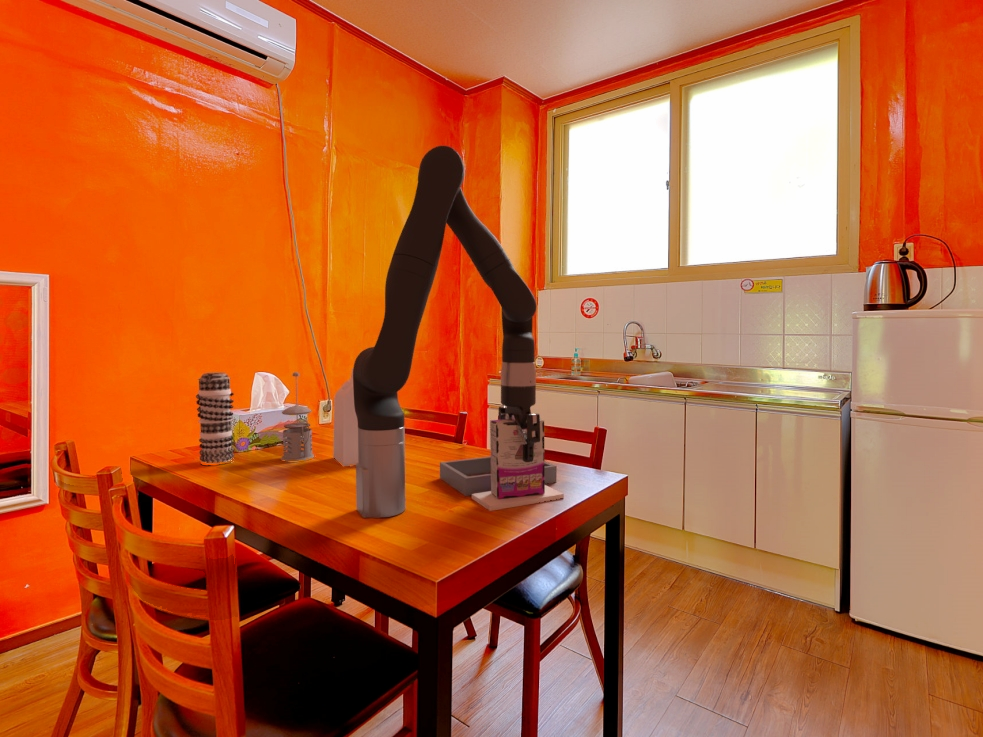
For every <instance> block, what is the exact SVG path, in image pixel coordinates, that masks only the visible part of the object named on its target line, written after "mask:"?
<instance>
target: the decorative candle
mask: <svg viewBox="0 0 983 737" xmlns="http://www.w3.org/2000/svg"><path fill="white" fill-rule="evenodd" d="M230 379H231V377H229V376H228V374H227V373H226V372H206V373H203V374H202V375H201V376H200V377H199V378H198V379H197V380H198V393H197V394H196V395H195V397H196V399H197V400H196V401H195V402H196V405H198V407H197V408H196V410H197V412H198V413H197V417H198V418H200V419H198V423H199V424H200V432H199V439H198V441H199V443H200V444H199V445H198V446H199V448H201V449H200V450H199V452H198V453H199V455H200V456H199V460H200V462H201V461H202V462H206V463H220V462H227V461H230V460H231V459H232V458H233V459H234V457H235V455H234V454H235V453H234V451H235V450H234V449H235V448H234V447H233V445H234V441H232V440H234V436H233V430H232V428H231V427H232V424H231V422H232V421H233V417H232V416H233V415H234V413H233V412H232V411H231V409H233V408H234V405H233V404H232V403H234V402H235V401H234V400H233V399H232V398H230V397H233V396H234V395H235V393H234V392H232V388H230V387H231V383H230ZM231 461H232V460H231Z"/></svg>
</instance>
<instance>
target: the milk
mask: <svg viewBox="0 0 983 737" xmlns="http://www.w3.org/2000/svg"><path fill="white" fill-rule="evenodd" d="M350 374H351V375H350V378H349V379H348V380H346V381H345V382H343V384H342V385H341V387H340V388H339V389H338V390H337V391H336V393H335V394H334V398H333V399H334V404H333V406H334V407H333V410H334V411H333V447H332V448H333V450H332V451H333V453H332V454H333V455H332V458H333V457H334V458H335V459H336V460H337V461H338V462H340V463H341V464H342V465H343V466H350V465H356V464H357V463H358V420H357V416H356V413H355V407H354V390H353V368H352V369H351V373H350ZM334 458H333V459H334ZM335 459H334V460H335ZM336 460H335V461H336ZM337 461H336V462H337ZM338 462H337V463H338ZM350 467H351V466H350Z"/></svg>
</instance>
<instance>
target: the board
mask: <svg viewBox="0 0 983 737" xmlns="http://www.w3.org/2000/svg"><path fill="white" fill-rule="evenodd" d="M560 498H563V499H564V498H565V495H564V493H562V492H561V491H559V490H556V489H554V488H552V487H550V486H548V485H547V484H545V494H539V495H531V496H523V497H514V498H505V499H497V498H496V497H495V496H494V495H493V494H492V493H491V491H488V492H481V493H475V494H472V495H471V499H472V500H473V501H475V503H476V502H477V503H478V504H479V505H480V506H482V507H483V508H485V509H486V510H488V511H489V512H491V511H497V510H504V509H509V508H516V507H521V506H527V505H533V504H538V503H539V502H540V503H544V501H546V502H551V501H550V500H552V501H556V499H557V500H561V499H560ZM540 503H539V504H540Z"/></svg>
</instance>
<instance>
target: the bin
mask: <svg viewBox="0 0 983 737" xmlns="http://www.w3.org/2000/svg"><path fill="white" fill-rule="evenodd" d="M544 466H545V485H548V484H547V483H549V484H554V483H553V482H556V483H557V473H558V472H557V465H556V464H553V463H550V462H548V461H545V464H544ZM439 479H440V480H442V481H443V482H444V483H447V485H449V486H451V487H452V488H453V489H455V490H456V491H458V492H460V494H462V495H464V496H465V497H470V496H472V494H475V493H481V492H488V491H491V455H489V456H484V457H475V458H474V457H473V458H466V459H465V458H464V459H459V460H458V459H457V460H450V461H449V460H447V461H442V462H439Z"/></svg>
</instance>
